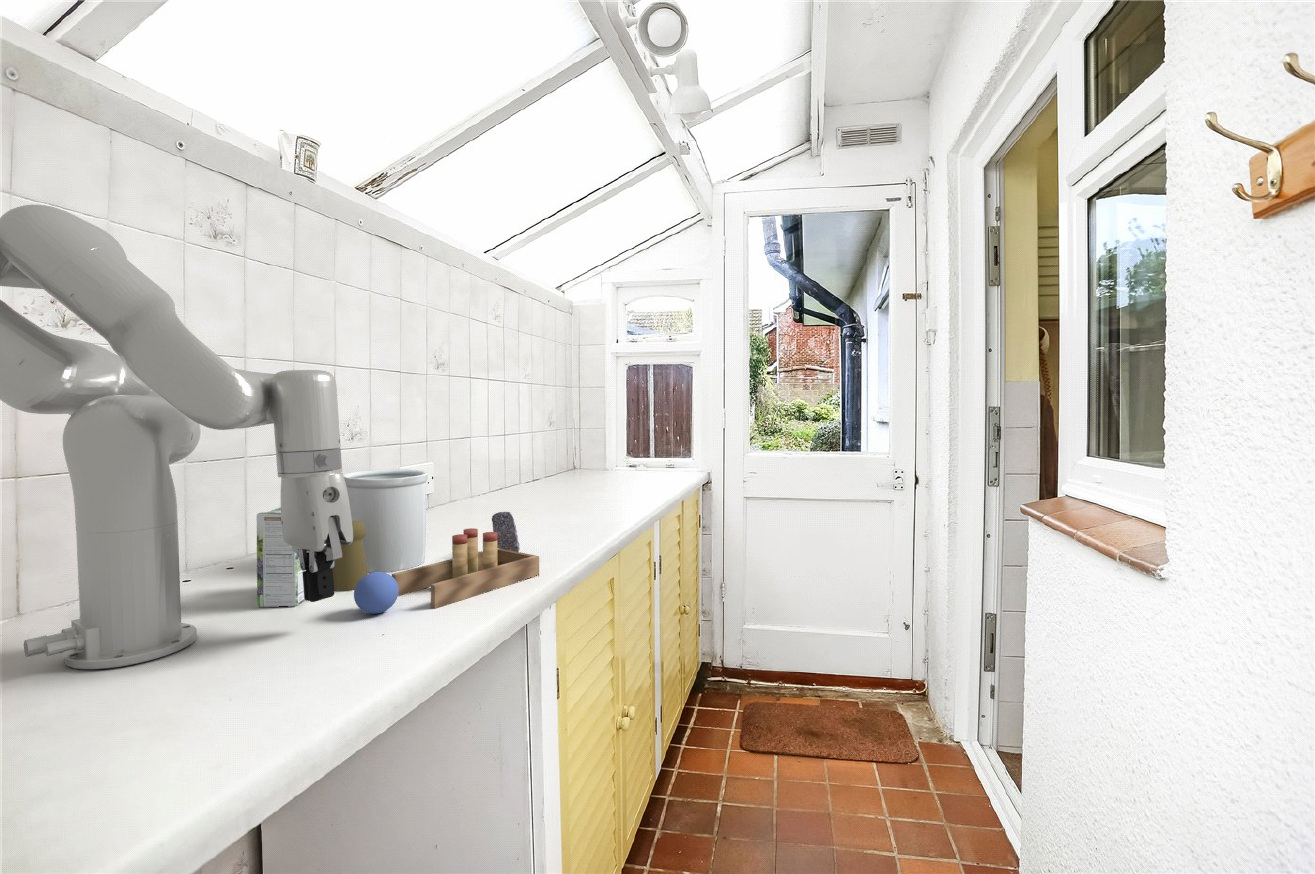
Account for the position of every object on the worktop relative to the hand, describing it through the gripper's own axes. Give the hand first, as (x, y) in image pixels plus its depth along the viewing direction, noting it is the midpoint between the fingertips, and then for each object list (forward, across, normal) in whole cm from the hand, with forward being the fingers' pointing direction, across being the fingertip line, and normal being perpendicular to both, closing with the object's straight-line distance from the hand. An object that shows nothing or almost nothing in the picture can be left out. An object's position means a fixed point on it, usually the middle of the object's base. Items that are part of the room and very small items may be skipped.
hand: (319, 598), depth 83 cm
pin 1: (+5, +3, -28) cm, 28 cm away
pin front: (+5, +1, -23) cm, 24 cm away
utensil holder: (+5, +25, -25) cm, 36 cm away
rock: (+6, +10, -41) cm, 43 cm away
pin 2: (+6, -2, -28) cm, 28 cm away
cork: (+5, +17, -13) cm, 22 cm away
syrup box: (+4, +17, -3) cm, 18 cm away
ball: (+2, +1, -9) cm, 9 cm away
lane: (+5, +1, -25) cm, 26 cm away
